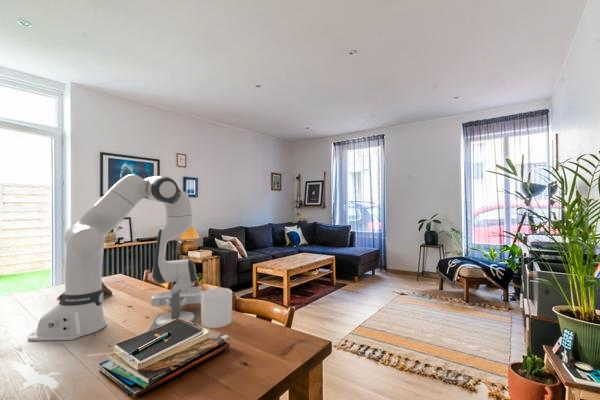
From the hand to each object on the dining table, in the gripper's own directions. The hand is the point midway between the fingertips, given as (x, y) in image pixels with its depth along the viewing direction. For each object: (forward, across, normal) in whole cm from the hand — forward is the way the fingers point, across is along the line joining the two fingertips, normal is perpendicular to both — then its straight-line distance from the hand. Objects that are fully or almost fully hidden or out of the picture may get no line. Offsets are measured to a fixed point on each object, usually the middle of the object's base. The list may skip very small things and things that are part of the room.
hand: (175, 304), depth 117 cm
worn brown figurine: (-41, -42, +7) cm, 59 cm away
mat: (-1, 0, +7) cm, 7 cm away
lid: (-1, 0, +6) cm, 7 cm away
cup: (+4, +16, +7) cm, 18 cm away
